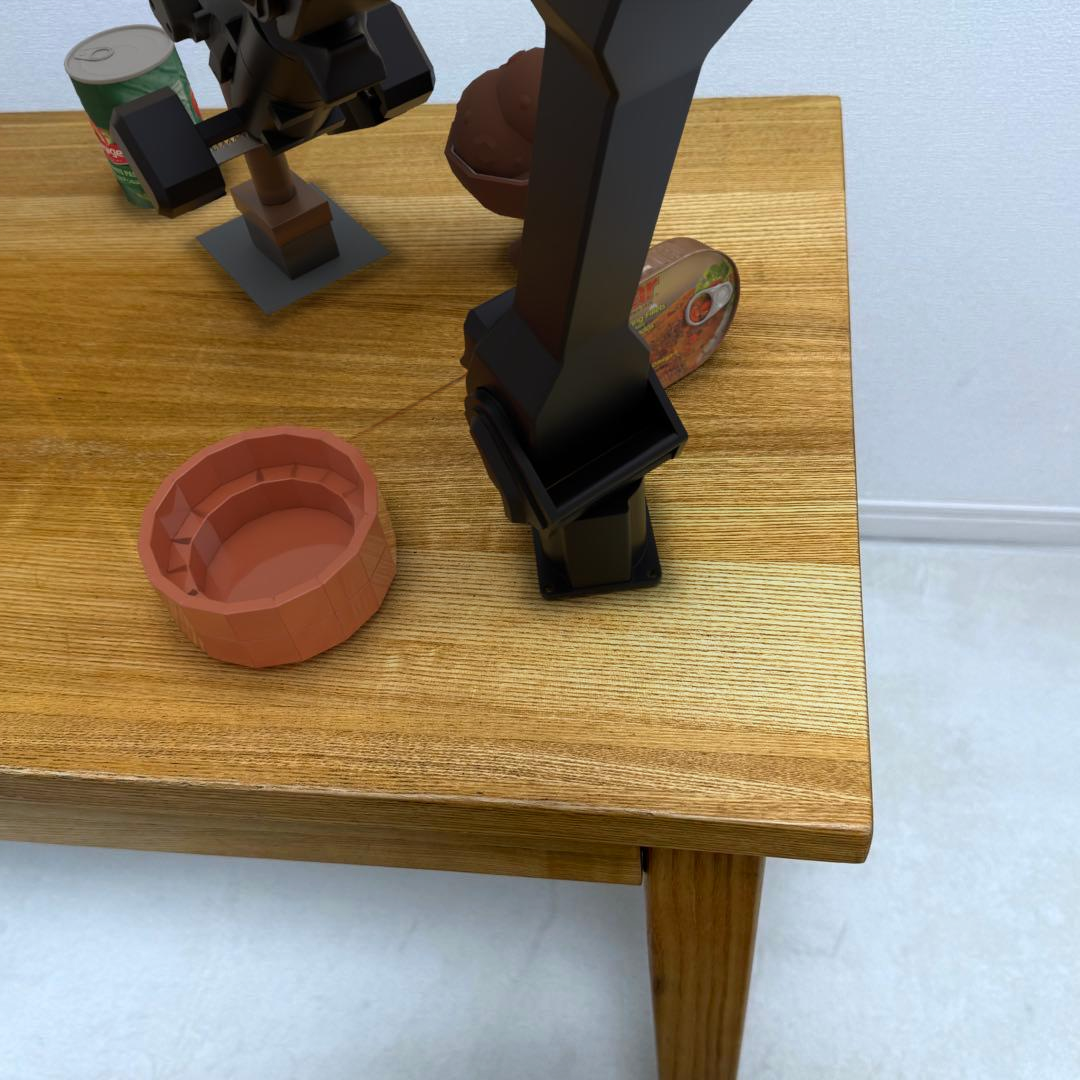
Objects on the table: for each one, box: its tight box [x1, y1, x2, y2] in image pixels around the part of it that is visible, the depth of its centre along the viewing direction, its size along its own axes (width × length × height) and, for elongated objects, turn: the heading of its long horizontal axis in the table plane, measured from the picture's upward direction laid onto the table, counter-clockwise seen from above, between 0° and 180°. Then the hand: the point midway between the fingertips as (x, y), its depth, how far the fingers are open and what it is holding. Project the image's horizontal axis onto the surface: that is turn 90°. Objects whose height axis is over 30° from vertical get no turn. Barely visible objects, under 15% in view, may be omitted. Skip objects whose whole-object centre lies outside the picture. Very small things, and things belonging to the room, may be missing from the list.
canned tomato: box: [63, 23, 222, 210], centre depth 81 cm, size 8×8×11 cm
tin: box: [629, 236, 741, 390], centre depth 63 cm, size 15×3×8 cm, turn 126°
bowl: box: [136, 424, 398, 669], centre depth 57 cm, size 12×12×6 cm
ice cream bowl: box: [443, 46, 544, 270], centre depth 69 cm, size 11×11×15 cm
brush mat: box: [195, 182, 392, 316], centre depth 78 cm, size 12×10×1 cm
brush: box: [218, 81, 340, 280], centre depth 72 cm, size 6×4×14 cm
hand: (265, 154), depth 71 cm, fingers open, 9 cm apart
